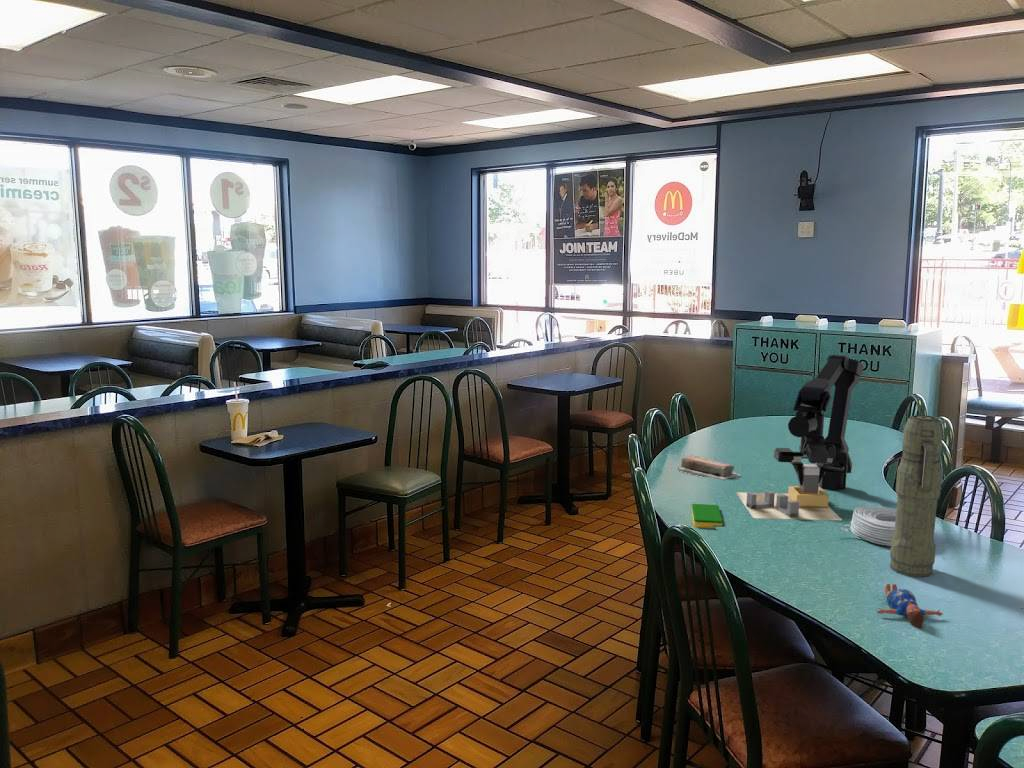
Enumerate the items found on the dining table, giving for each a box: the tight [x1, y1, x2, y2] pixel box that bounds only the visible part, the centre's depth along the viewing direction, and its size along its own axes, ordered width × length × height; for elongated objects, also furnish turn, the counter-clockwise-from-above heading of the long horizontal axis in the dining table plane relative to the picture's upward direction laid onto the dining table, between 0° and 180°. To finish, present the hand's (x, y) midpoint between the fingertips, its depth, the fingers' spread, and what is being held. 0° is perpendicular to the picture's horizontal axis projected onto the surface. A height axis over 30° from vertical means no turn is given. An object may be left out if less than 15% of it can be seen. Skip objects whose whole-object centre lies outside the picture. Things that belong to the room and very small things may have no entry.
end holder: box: [787, 485, 830, 508], centre depth 226 cm, size 8×8×4 cm
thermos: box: [889, 414, 943, 578], centre depth 179 cm, size 9×12×35 cm
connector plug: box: [798, 463, 820, 493], centre depth 225 cm, size 4×4×7 cm
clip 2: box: [776, 495, 799, 517], centre depth 218 cm, size 7×2×4 cm, turn 12°
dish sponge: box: [691, 503, 723, 529], centre depth 216 cm, size 7×14×2 cm, turn 170°
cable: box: [840, 506, 897, 547], centre depth 202 cm, size 18×18×6 cm
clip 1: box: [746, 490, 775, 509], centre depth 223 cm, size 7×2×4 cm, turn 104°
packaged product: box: [677, 455, 742, 481], centre depth 259 cm, size 18×5×10 cm
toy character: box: [876, 583, 943, 629], centre depth 161 cm, size 12×5×15 cm
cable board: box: [735, 491, 843, 521], centre depth 225 cm, size 23×23×1 cm
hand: (808, 485), depth 226 cm, fingers closed on connector plug, 4 cm apart
